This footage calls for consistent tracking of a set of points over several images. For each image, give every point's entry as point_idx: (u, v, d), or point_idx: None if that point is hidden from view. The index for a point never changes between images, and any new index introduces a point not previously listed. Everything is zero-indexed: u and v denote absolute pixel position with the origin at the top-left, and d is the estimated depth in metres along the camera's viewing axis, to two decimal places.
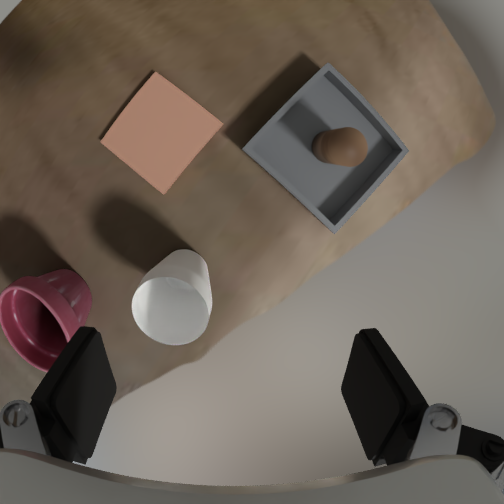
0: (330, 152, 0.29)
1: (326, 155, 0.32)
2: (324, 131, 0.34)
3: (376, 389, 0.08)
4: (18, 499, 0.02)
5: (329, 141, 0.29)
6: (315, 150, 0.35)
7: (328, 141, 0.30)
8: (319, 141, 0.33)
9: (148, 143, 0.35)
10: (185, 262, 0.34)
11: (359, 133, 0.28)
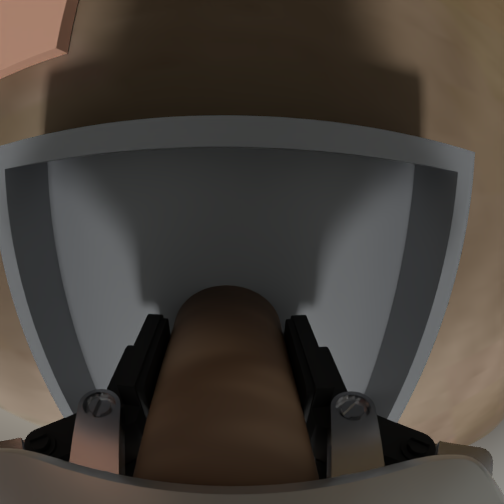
0: None
1: (144, 428, 0.06)
2: (250, 313, 0.10)
3: (295, 372, 0.08)
4: (18, 499, 0.02)
5: (161, 473, 0.04)
6: (173, 331, 0.10)
7: (167, 449, 0.05)
8: (188, 346, 0.08)
9: None
10: None
11: None
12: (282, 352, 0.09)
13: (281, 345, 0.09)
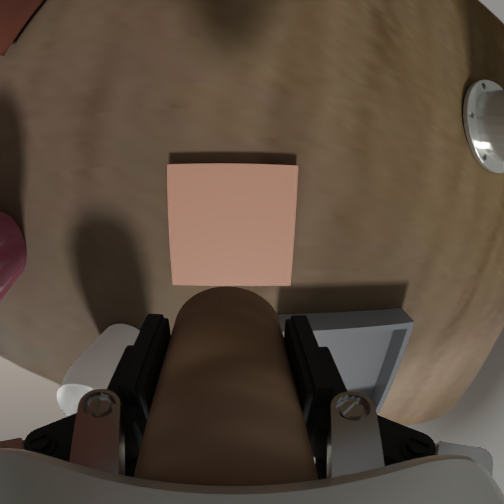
0: None
1: (145, 430, 0.06)
2: (250, 315, 0.10)
3: (295, 372, 0.08)
4: (18, 499, 0.02)
5: (162, 474, 0.04)
6: (173, 332, 0.10)
7: (168, 451, 0.05)
8: (188, 348, 0.08)
9: (210, 227, 0.28)
10: None
11: None
12: (282, 353, 0.09)
13: (281, 346, 0.09)
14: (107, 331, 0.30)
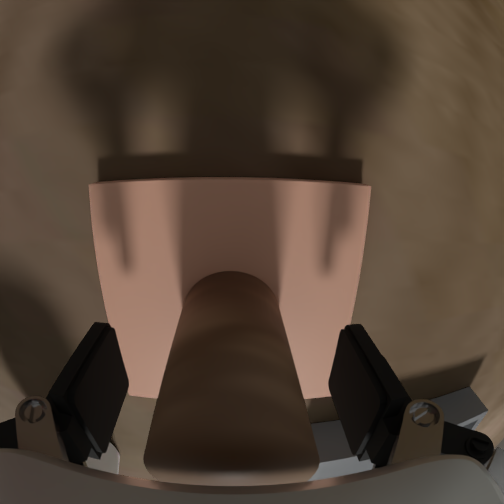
0: (149, 437, 0.06)
1: (159, 392, 0.08)
2: (251, 293, 0.11)
3: (359, 384, 0.08)
4: (18, 499, 0.02)
5: (177, 418, 0.05)
6: (183, 310, 0.11)
7: (182, 399, 0.06)
8: (198, 319, 0.09)
9: None
10: None
11: (310, 465, 0.06)
12: (280, 327, 0.10)
13: (279, 321, 0.10)
14: None
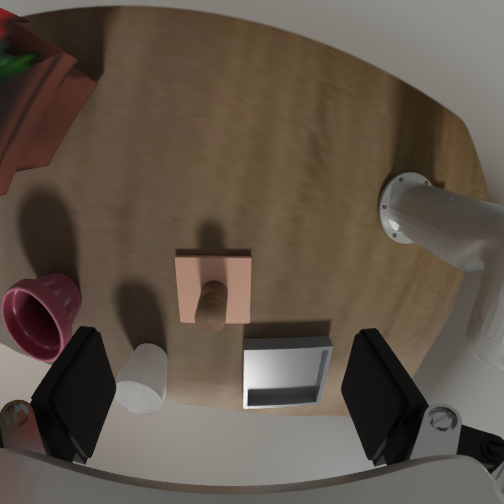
0: None
1: None
2: (217, 286, 0.45)
3: (376, 389, 0.08)
4: (18, 499, 0.02)
5: (201, 306, 0.40)
6: (201, 290, 0.46)
7: (202, 303, 0.41)
8: (205, 292, 0.44)
9: None
10: (163, 375, 0.46)
11: (223, 317, 0.40)
12: (223, 293, 0.45)
13: (224, 292, 0.45)
14: (140, 348, 0.50)
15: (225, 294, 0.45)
